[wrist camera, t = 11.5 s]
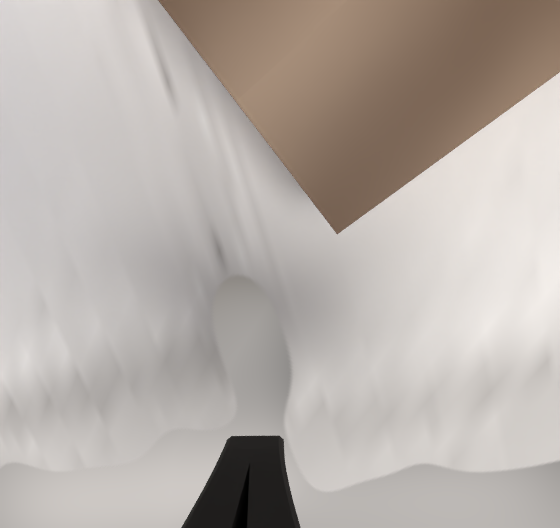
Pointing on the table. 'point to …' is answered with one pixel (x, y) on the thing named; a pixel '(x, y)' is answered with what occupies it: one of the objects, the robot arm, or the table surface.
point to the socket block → (371, 81)
